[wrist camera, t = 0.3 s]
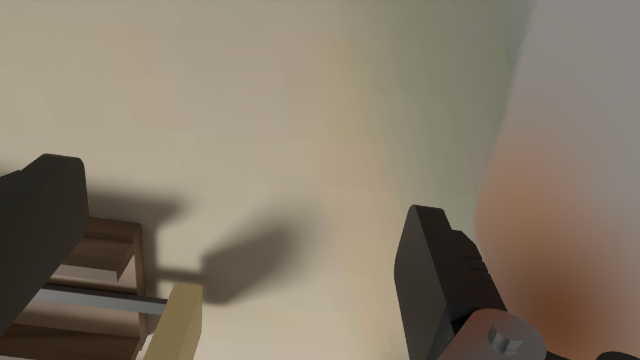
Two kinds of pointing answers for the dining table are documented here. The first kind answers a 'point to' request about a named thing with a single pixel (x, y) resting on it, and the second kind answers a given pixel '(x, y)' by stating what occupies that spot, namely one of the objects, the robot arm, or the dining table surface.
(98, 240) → the wooden lane
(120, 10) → the dining table surface
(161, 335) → the multicoloured piece
